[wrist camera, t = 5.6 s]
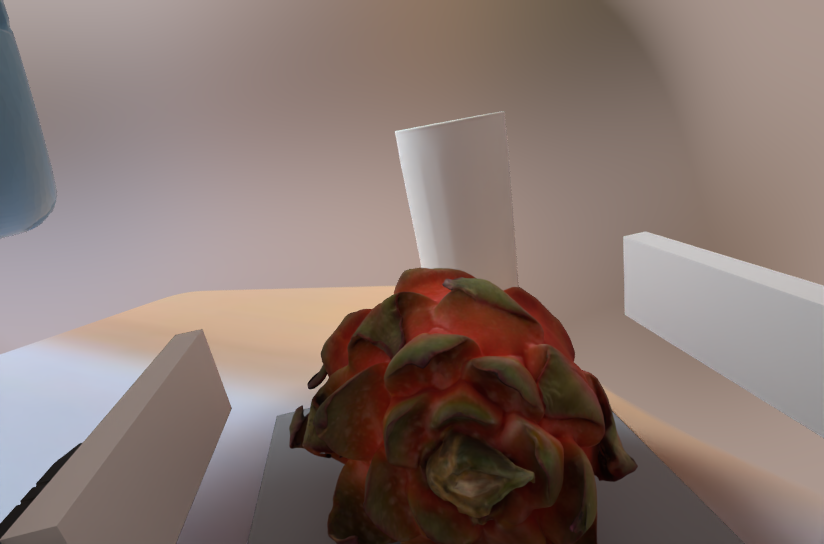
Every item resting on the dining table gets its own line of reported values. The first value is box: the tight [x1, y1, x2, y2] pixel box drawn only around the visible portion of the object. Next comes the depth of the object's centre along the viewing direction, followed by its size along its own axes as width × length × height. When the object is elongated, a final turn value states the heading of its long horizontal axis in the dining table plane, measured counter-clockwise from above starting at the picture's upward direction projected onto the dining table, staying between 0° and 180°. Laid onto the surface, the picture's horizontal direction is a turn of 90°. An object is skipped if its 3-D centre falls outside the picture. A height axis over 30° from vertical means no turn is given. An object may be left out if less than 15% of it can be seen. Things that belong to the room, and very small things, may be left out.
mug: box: [395, 111, 518, 291], centre depth 29 cm, size 10×7×12 cm, turn 26°
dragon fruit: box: [289, 268, 638, 544], centre depth 14 cm, size 8×8×12 cm
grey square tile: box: [247, 408, 745, 544], centre depth 15 cm, size 14×14×1 cm
